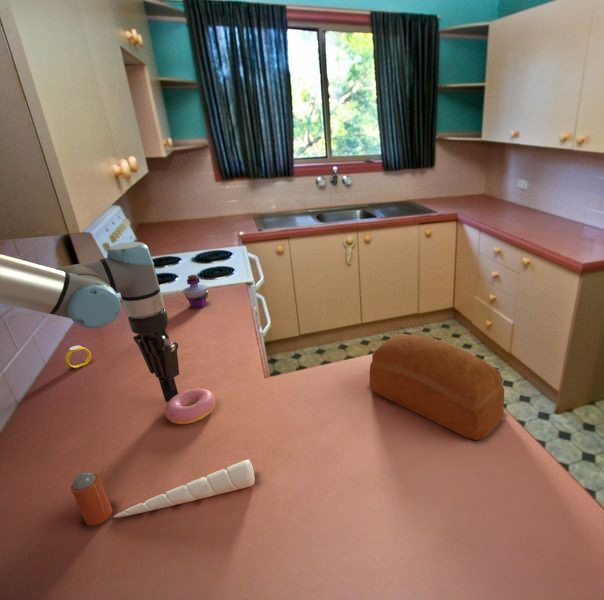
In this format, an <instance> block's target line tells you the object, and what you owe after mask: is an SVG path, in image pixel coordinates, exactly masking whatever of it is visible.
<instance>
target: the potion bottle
mask: <svg viewBox="0 0 604 600" xmlns="http://www.w3.org/2000/svg"><path fill="white" fill-rule="evenodd" d="M186 283H187V285H189V286H187V287H185V288H183V289H182V291H183V294H184V296H185V298H186V300H188V301H187V302H188V303H189V305H190V307H191V308H194V309H198V308H199V309H200V308H203V307H205V306H207V299H208V298H209V291H208V286H207V285H206V284H199V283H201V281H200V277H198V276H197V274H190V275H187V279H186Z"/></svg>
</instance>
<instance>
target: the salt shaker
mask: <svg viewBox="0 0 604 600" xmlns="http://www.w3.org/2000/svg"><path fill="white" fill-rule="evenodd" d="M70 491H71V494H72V496H73V498H74V501H75V502H76V504H77V507H78V509H79V511H80V513H81V516H82V519H83V520H84V522H85V524H86V525H87V526H91V527H92V526H96V525H97V526H98V525H99V524H102V523H104V522H105V521H107V520H108V519H109V518H110V517H111V515H112V514H113V508H112V505H111V503H110V500H109V498H108V495H107V493H106V490H105V488H104V485H103V483H102V481H101V479H100V476H99V475H98V474H97V473H93V471H92V472H91V471H82V472H80V473H78V474H77V475H76V476H75V477H74V478H73V480H72V484H71V486H70Z"/></svg>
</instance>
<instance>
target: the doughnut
mask: <svg viewBox="0 0 604 600" xmlns="http://www.w3.org/2000/svg"><path fill="white" fill-rule="evenodd" d="M168 401H169V400H168ZM215 406H216V397H215V394H213V392H212V391H210V390H209V389H205V388H202V387H200V388H190V389H187V390H186V389H185V390H183V391H180V392H178V394H177V395H176V396H174V397H173V398H172V399H171V400H170V401H169V402H167V404H166V405H165V407H164V414H165V417H166V418H167V420H168V421H170V422H171V423H173V424H176V425H177V424H178V425H188V424H192V423H196V422H199V421H201V420H203V419H205V418H206V417H207V416H209V415H210V414H211V413H212V411H213V410H214V408H215Z"/></svg>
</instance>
